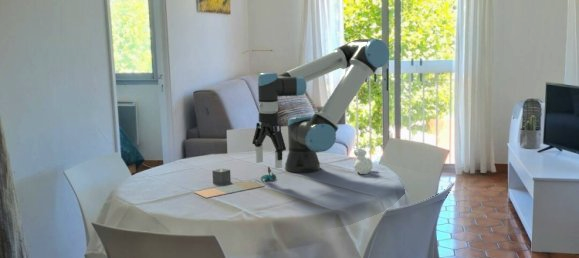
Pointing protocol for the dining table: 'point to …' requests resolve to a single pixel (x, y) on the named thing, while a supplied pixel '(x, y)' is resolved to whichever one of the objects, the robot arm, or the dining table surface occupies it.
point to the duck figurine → (362, 162)
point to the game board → (228, 189)
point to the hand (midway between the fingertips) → (268, 165)
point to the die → (221, 176)
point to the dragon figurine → (268, 176)
